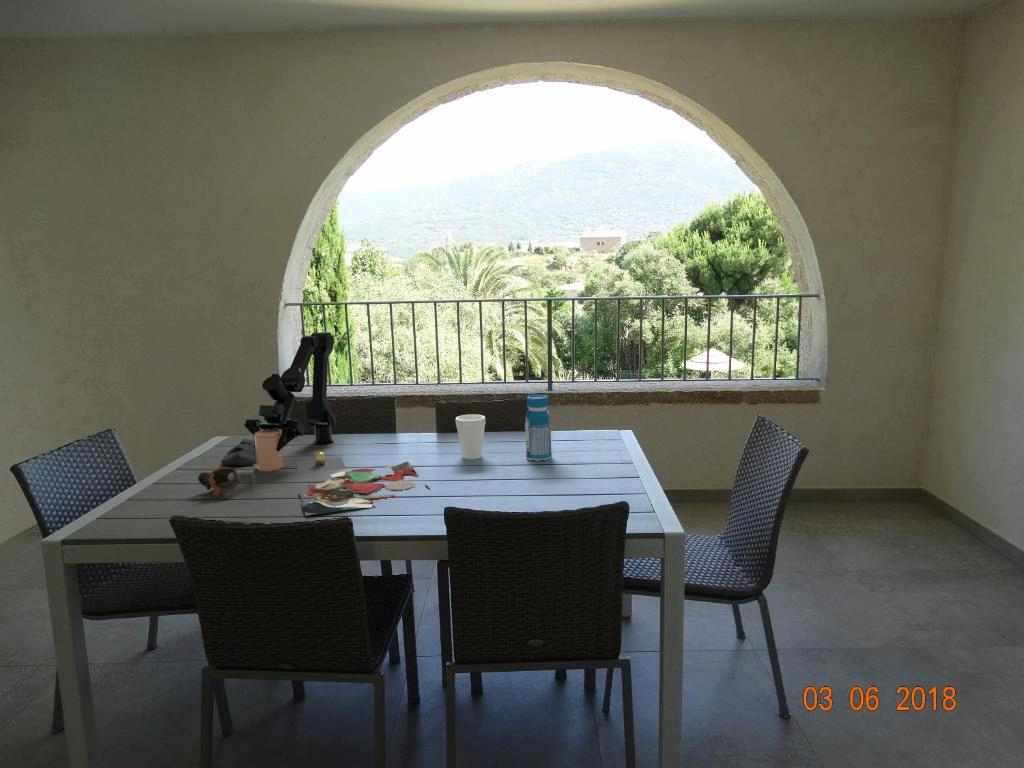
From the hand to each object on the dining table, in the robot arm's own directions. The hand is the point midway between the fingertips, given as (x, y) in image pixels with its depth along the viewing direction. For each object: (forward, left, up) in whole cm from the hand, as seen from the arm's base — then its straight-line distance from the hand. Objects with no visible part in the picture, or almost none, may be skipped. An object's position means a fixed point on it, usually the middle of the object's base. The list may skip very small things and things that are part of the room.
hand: (266, 450), depth 229 cm
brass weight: (+3, +16, -6) cm, 17 cm away
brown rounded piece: (+17, -13, -7) cm, 23 cm away
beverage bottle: (+24, +82, -7) cm, 85 cm away
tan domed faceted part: (-1, +1, -7) cm, 7 cm away
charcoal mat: (+3, +16, -7) cm, 17 cm away
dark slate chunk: (-20, -6, -7) cm, 22 cm away
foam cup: (+13, +63, -7) cm, 64 cm away
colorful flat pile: (+32, +25, -7) cm, 41 cm away
